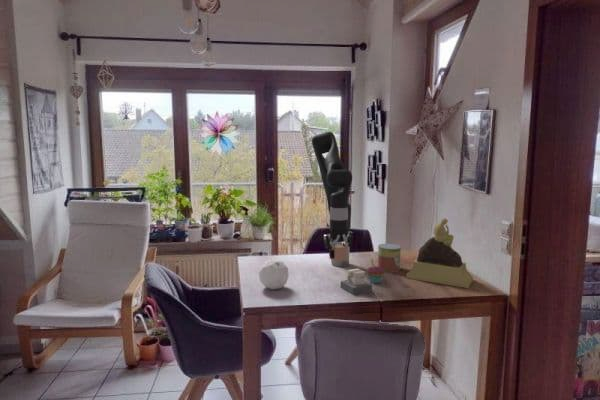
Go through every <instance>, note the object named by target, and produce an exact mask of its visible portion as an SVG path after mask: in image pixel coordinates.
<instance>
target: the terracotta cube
mask: <svg viewBox="0 0 600 400" xmlns="http://www.w3.org/2000/svg"><path fill="white" fill-rule="evenodd" d="M329 260H330V261H331V260H333V261H335V262H339V261H346V260H348V247H345V246H343V245H335V248H334V259H332V258H330V257H329Z"/></svg>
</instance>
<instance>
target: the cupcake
mask: <svg viewBox="0 0 600 400" xmlns="http://www.w3.org/2000/svg"><path fill="white" fill-rule="evenodd" d="M371 265H372V266H370V267H368V268H367V269H366V271H365V275H367V277H368V279H369V283H371V284H379V283H380V284H381V281H382V278H383V277H384V276H385V274H386V272H385V271H384V270H383V269H382V268H381V267H378V266H374V259H373V258H371Z"/></svg>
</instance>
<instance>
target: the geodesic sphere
mask: <svg viewBox="0 0 600 400" xmlns="http://www.w3.org/2000/svg"><path fill="white" fill-rule="evenodd" d="M258 276H259V282H261V284H262V285H263V286H264V288H267V289H269V290H278V289H281V288H283V287H284V286H285V285H286V284H287V282H288V280H289V276H290V275H289V268H288V266H287V265H286V263H284V261H282V260H279V259H277V258H273V259H268V260H266V262H263V263H262V264H261V266H260V269H259V272H258Z"/></svg>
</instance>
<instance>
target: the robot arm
mask: <svg viewBox="0 0 600 400" xmlns="http://www.w3.org/2000/svg"><path fill="white" fill-rule="evenodd" d="M311 145H312V148H313V152H314V155H315V157H316V161H317V165H318V169H319V172H320V176H321V177H320V178H321V180H322V185H323V188H324V192H325V197H326V201H327V207H328V208H327V209H328V214H329V232H328V233H327V234H323V235H322V237H323V243H324V248H325V249H327V250H328V252H329V253H328V256H329V259H330V258H332V259H334V248H335V245H343V246H345V247H348V260H346V261H339V262H335V261H333V260H331V259H330V261H331V265H332V266H335V267H348V266H350V247H352V246H353V240H354V235H355V232H353V231H350V230H351V221H352V220H351V217H352V206H351V204H350V203H349V202H348V200H349V191H350V188H351V186H352V183H353V173H352V172H351V171H350V170H349V169H345V167H344V164H343V162H342V159H341V157H340V152H339V147H338V142H337V140H336V136H335V134H334V133H333V132H332V131H327V132H326V131H325V132H323V133H319V134H316V135H313V136H312V137H311ZM323 154H326V155H325V156H324V155H323Z"/></svg>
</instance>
